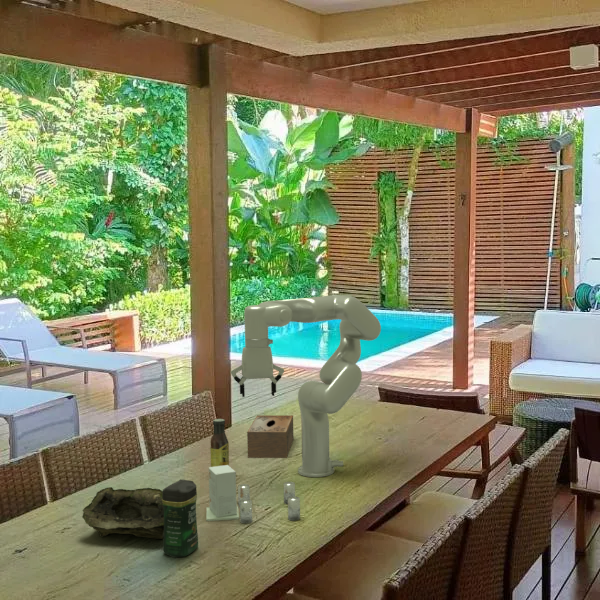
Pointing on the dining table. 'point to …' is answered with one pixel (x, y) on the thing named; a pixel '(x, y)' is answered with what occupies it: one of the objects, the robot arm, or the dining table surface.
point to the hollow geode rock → (127, 512)
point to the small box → (222, 490)
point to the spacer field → (288, 499)
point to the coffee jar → (180, 518)
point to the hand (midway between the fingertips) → (258, 395)
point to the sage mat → (212, 517)
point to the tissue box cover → (270, 436)
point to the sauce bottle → (219, 444)
